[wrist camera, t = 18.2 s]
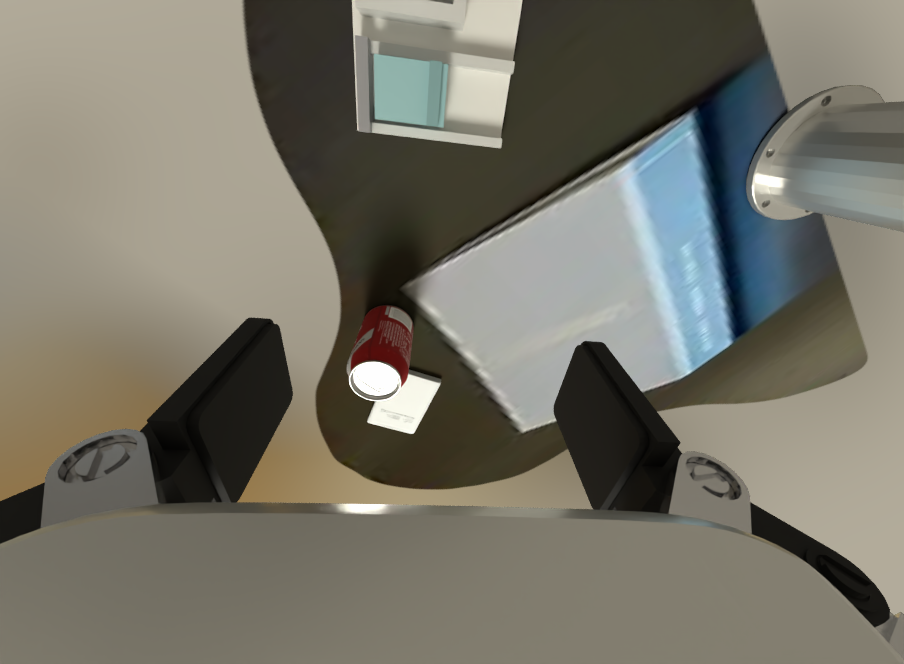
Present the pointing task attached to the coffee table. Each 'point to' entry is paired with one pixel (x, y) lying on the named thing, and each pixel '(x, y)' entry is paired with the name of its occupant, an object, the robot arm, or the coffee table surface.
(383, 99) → the block
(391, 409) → the external hard drive
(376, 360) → the soda can
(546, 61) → the coffee table surface
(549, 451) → the coffee table surface
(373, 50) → the housing board
